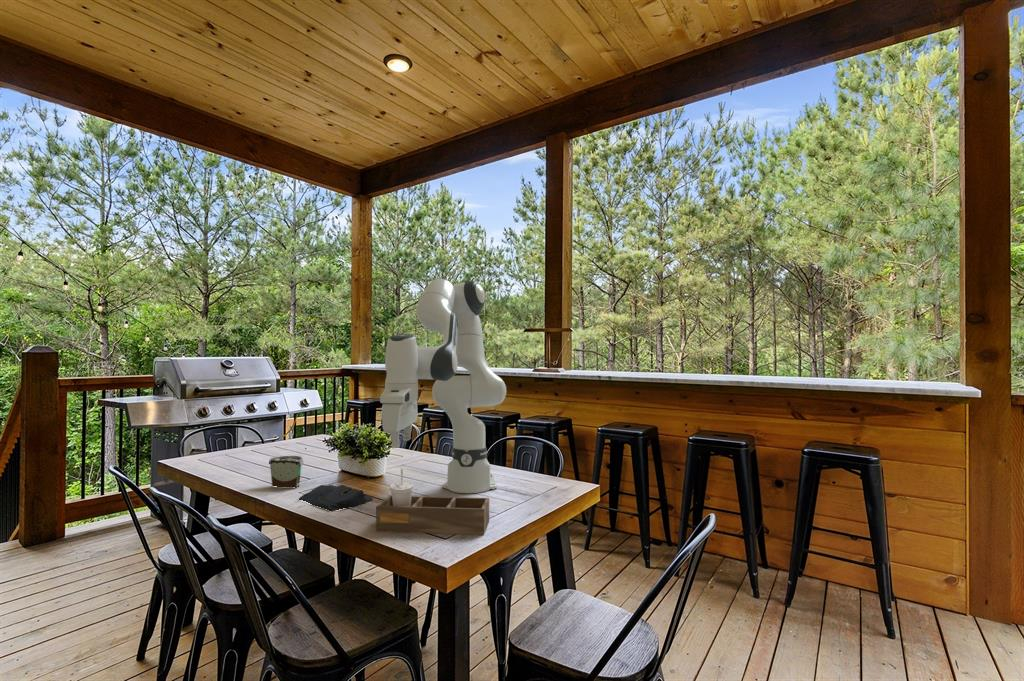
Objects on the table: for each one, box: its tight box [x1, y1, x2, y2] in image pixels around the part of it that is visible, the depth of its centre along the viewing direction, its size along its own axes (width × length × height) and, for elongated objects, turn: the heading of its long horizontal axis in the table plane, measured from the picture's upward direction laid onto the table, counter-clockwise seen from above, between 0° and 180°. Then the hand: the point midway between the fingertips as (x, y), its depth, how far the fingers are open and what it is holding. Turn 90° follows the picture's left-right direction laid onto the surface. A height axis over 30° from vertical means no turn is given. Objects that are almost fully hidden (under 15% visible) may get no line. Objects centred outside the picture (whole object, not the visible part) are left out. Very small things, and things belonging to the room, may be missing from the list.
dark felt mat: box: [298, 484, 374, 512], centre depth 158 cm, size 15×22×5 cm
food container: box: [268, 455, 304, 489], centre depth 176 cm, size 12×6×10 cm, turn 80°
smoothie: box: [389, 468, 415, 506], centre depth 135 cm, size 6×6×14 cm
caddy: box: [375, 495, 490, 536], centre depth 135 cm, size 10×29×6 cm, turn 85°
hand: (401, 443), depth 136 cm, fingers open, 8 cm apart
